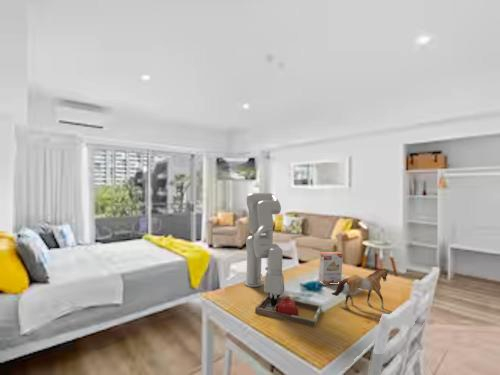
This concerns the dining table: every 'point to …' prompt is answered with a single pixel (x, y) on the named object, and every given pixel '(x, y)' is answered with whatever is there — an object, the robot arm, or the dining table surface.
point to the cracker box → (330, 267)
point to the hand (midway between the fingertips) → (273, 305)
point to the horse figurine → (363, 285)
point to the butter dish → (287, 306)
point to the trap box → (292, 318)
